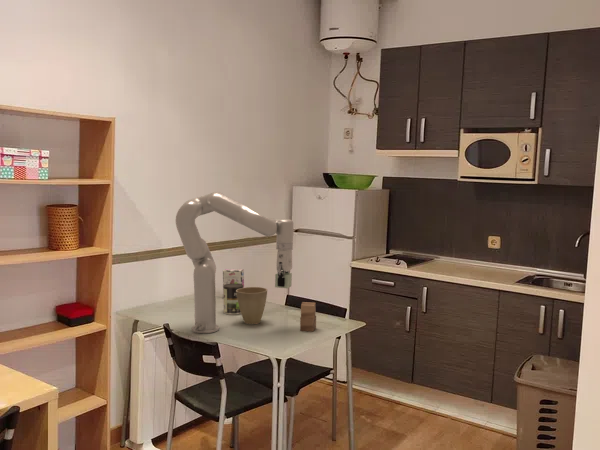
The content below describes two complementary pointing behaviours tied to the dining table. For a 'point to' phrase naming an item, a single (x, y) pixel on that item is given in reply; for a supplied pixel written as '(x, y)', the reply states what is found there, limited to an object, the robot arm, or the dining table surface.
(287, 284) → the sage block
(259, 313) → the plant pot
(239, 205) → the robot arm
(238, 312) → the coffee can
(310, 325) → the tower base block
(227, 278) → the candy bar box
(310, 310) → the tower block
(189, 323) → the dining table surface
